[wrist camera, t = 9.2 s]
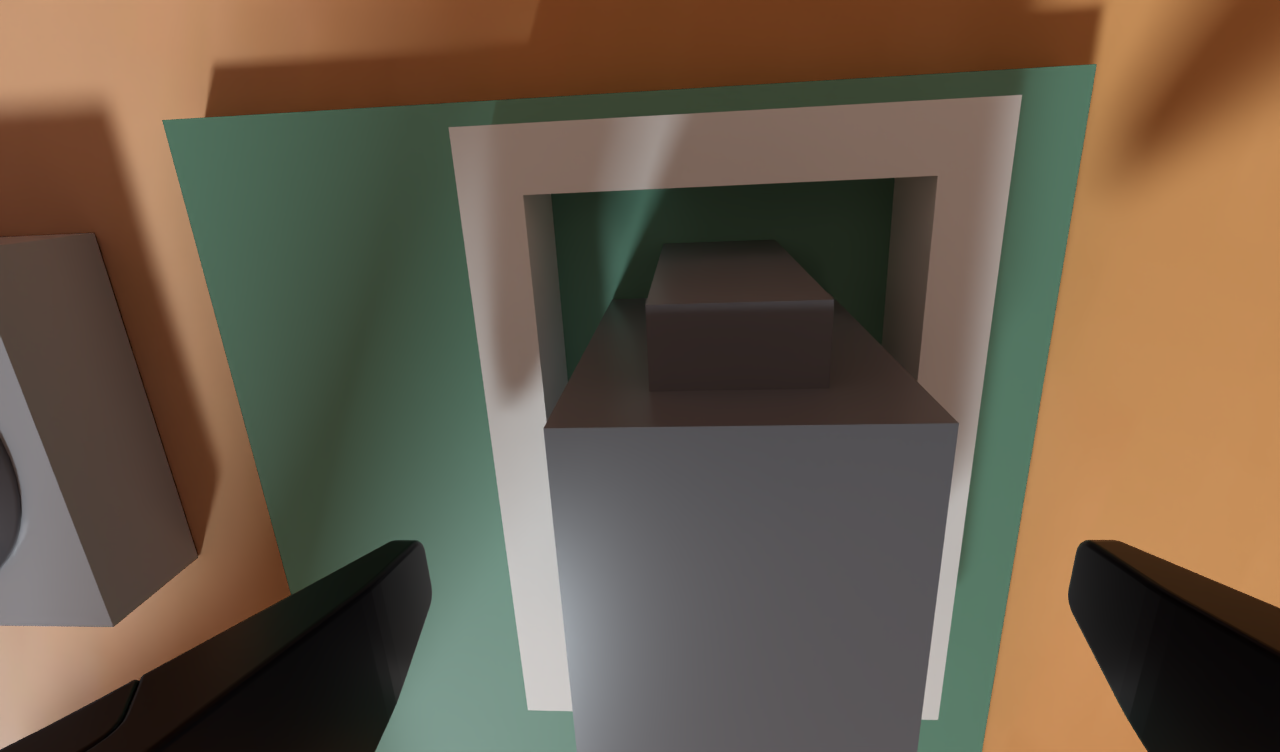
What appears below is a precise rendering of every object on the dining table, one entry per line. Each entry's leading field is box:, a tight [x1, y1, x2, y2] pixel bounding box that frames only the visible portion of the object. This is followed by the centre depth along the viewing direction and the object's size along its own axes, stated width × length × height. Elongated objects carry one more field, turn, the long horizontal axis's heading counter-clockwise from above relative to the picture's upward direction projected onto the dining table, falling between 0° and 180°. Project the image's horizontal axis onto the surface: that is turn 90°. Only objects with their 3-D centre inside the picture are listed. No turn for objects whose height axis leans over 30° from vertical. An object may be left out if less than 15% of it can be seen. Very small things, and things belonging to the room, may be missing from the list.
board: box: [162, 64, 1097, 752], centre depth 13 cm, size 16×18×3 cm
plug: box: [543, 240, 959, 752], centre depth 10 cm, size 4×7×6 cm, turn 3°
